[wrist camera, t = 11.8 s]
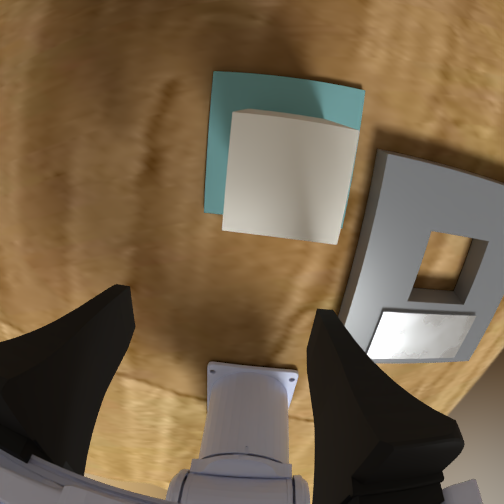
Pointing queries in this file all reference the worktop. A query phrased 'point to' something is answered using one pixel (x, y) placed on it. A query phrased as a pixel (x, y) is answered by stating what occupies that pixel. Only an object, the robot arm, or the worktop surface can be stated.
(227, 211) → the plug
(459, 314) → the grey slotted board
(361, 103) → the mat
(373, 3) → the worktop surface
